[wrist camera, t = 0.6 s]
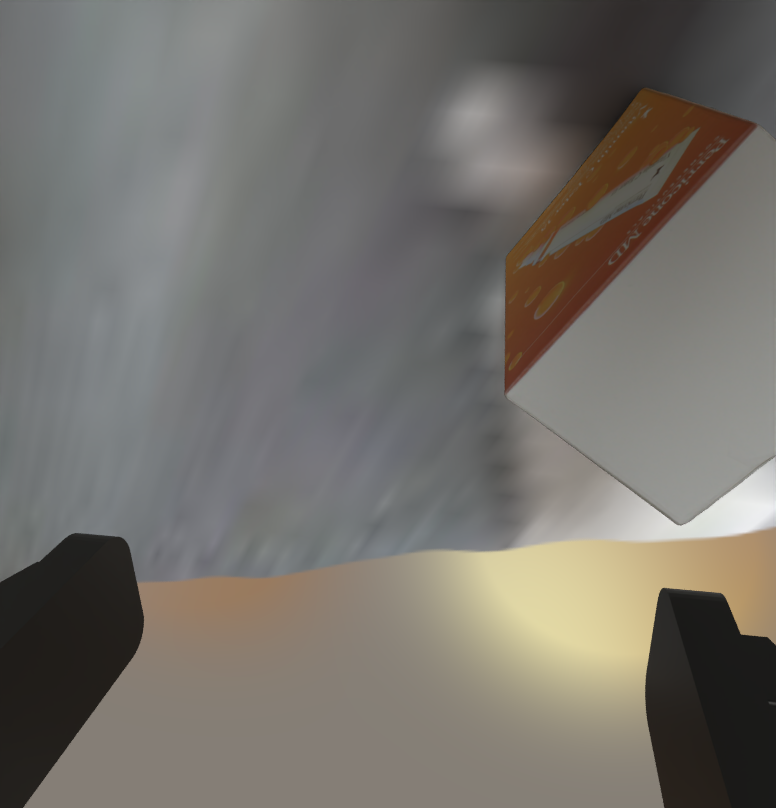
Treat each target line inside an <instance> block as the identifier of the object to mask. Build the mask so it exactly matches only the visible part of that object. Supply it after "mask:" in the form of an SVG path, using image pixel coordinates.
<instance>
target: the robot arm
mask: <svg viewBox="0 0 776 808" xmlns="http://www.w3.org/2000/svg"><path fill="white" fill-rule="evenodd" d="M143 627H144V616H143V610H142V605H141V600H140V596H139V591H138V586H137V581H136V577H135V572H134V567H133V562H132V558H131V553H130V549H129V546H128V544H127V542H126V541H125V540H124V539H123V538H121V537H115V536H104V535H93V534H81V533H74V534H71V535H69V536H68V537H66V538H65V539H64V540H63V541H62V542H61V543H60V544H59V545H57V546H56V547H55V548H54V549H53V550H52V551H51V552H50V553H49V554H48V555H46V556H45V557H44V558H43V559H42V560H41V561H40V562H36V563H34V564H32V565H31V566H29V567H27V568H25V569H23V570H22V571H20V572H18V573H16V574H14V575H13V576H11V577H9V578H7V579H5V580H3V581H2V582H1V583H0V808H23V807H24V806H25V804H26V803H27V801H28V800H29V799H30V797H31V796H32V795H33V793H34V792H35V791H36V789H37V788H38V786H39V785H40V784H41V782H42V781H43V780H44V778H45V777H46V775H47V774H48V773H49V771H50V770H51V768H52V767H53V766H54V764H55V763H56V762H57V760H58V759H59V757H60V756H61V755H62V754H63V752H64V751H65V749H66V748H67V747H68V745H69V744H70V743H71V741H72V740H73V739H74V737H75V736H76V734H77V733H78V732H79V730H80V729H81V728H82V726H83V725H84V723H85V722H86V721H87V719H88V718H89V717H90V715H91V714H92V712H93V711H94V710H95V708H96V707H97V706H98V704H99V703H100V702H101V700H102V699H103V697H104V696H105V695H106V693H107V692H108V691H109V689H110V688H111V686H112V685H113V684H114V682H115V681H116V680H117V678H118V677H119V675H120V674H121V673H122V671H123V670H124V669H125V667H126V666H127V665H128V663H129V662H130V661H131V659H132V658H133V656H134V655H135V653H136V651H137V649H138V646H139V644H140V641H141V637H142V633H143ZM645 700H646V713H647V721H648V727H649V732H650V736H651V742H652V747H653V752H654V757H655V762H656V767H657V772H658V777H659V782H660V787H661V793H662V798H663V803H664V808H776V645H775V644H774V643H773V642H772V641H771V640H770V639H769V638H768V637H758V636H749V635H741V634H740V632H739V629H738V627H737V624H736V622H735V620H734V617H733V615H732V612H731V610H730V607H729V605H728V603H727V600H726V598H725V597H724V595H723V594H721V593H714V592H703V591H692V590H680V589H669V588H662V589H661V591H660V593H659V597H658V602H657V608H656V614H655V621H654V627H653V634H652V640H651V647H650V653H649V660H648V666H647V673H646V685H645Z"/></svg>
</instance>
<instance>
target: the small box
mask: <svg viewBox="0 0 776 808" xmlns="http://www.w3.org/2000/svg"><path fill="white" fill-rule="evenodd" d="M505 282H506V287H505V292H506V296H505V392H504V395H505V397H506V398H507V399H509V400H510V401H511V402H513V403H514V404H515V405H517V406H518V407H520V408H521V409H522V410H524V411H525V412H526V413H528V414H529V415H530V416H532V417H533V418H535V419H536V420H537V421H539V422H540V423H541V424H543V425H544V426H545V427H547V428H548V429H549V430H551V431H552V432H553V433H555V434H556V435H557V436H559V437H560V438H561V439H563V440H564V441H565V442H567V443H568V444H569V445H571V446H572V447H573V448H575V449H576V450H577V451H579V452H580V453H582V454H583V455H584V456H586V457H587V458H588V459H590V460H591V461H592V462H594V463H595V464H596V465H598V466H599V467H600V468H602V469H603V470H604V471H606V472H607V473H608V474H610V475H611V476H613V477H614V478H615V479H617V480H618V481H619V482H621V483H622V484H623V485H625V486H626V487H627V488H629V489H630V490H631V491H633V492H634V493H635V494H637V495H638V496H639V497H641V498H642V499H643V500H645V501H646V502H647V503H649V504H650V505H651V506H653V507H654V508H655V509H657V510H658V511H659V512H661V513H662V514H663V515H665V516H666V517H667V518H669V519H670V520H671V521H673V522H674V523H675V524H677V525H683V524H686V523H688V522H690V521H691V520H692V519H694V518H695V517H696V516H697V515H699V514H700V513H702V512H703V511H704V510H706V509H707V508H709V507H710V506H711V505H712V504H714V503H715V502H716V501H717V500H719V499H720V498H721V497H723V496H724V495H725V494H727V493H728V492H729V491H731V490H732V489H733V488H735V487H736V486H737V485H739V484H740V483H741V482H742V481H744V480H745V479H746V478H748V477H749V476H750V475H751V474H753V473H754V472H755V471H756V470H758V469H759V468H760V467H762V466H763V465H764V464H766V463H767V462H768V461H770V460H771V459H773V458H774V457H775V456H776V139H774V138H773V137H772V136H771V135H770V134H769V133H768V132H767V131H766V130H764V129H763V128H762V127H761V126H760V125H758V124H757V123H754V122H752V121H749V120H745V119H743V118H740V117H737V116H734V115H731V114H728V113H725V112H721V111H718V110H716V109H714V108H711V107H707V106H704V105H701V104H697V103H694V102H691V101H688V100H685V99H682V98H679V97H677V96H673V95H670V94H667V93H663V92H659V91H656V90H652V89H650V88H642V89H641V91H640V92H639V93H638V94H637V96H636V97H635V98H634V100H633V101H632V102H631V104H630V105H629V106H628V108H627V109H626V110H625V112H624V113H623V115H622V116H621V117H620V118H619V120H618V121H617V122H616V124H615V125H614V126H613V127H612V129H611V130H610V131H609V132H608V134H607V135H606V136H605V138H604V139H603V140H602V141H601V142H600V144H599V145H598V146H597V147H596V149H595V150H594V151H593V152H592V154H591V155H590V156H589V157H588V158H587V160H586V161H585V162H584V163H583V165H582V166H581V167H580V168H579V170H578V171H577V172H576V173H575V175H574V176H573V177H572V178H571V180H570V181H569V182H568V183H567V185H566V186H565V187H564V188H563V189H562V191H561V192H560V193H559V194H558V195H557V197H556V198H555V199H554V200H553V201H552V203H551V204H550V205H549V206H548V207H547V209H546V210H545V211H544V212H543V213H542V215H541V216H540V217H539V218H538V219H537V221H536V222H535V223H534V224H533V225H532V227H531V228H530V229H529V230H528V231H527V233H526V234H525V235H524V236H523V237H522V238H521V240H520V241H519V242H518V243H517V244H516V246H515V247H514V248H513V249H512V250H511V251H510V253H509V254H508V255H507V257H506V281H505Z"/></svg>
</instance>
